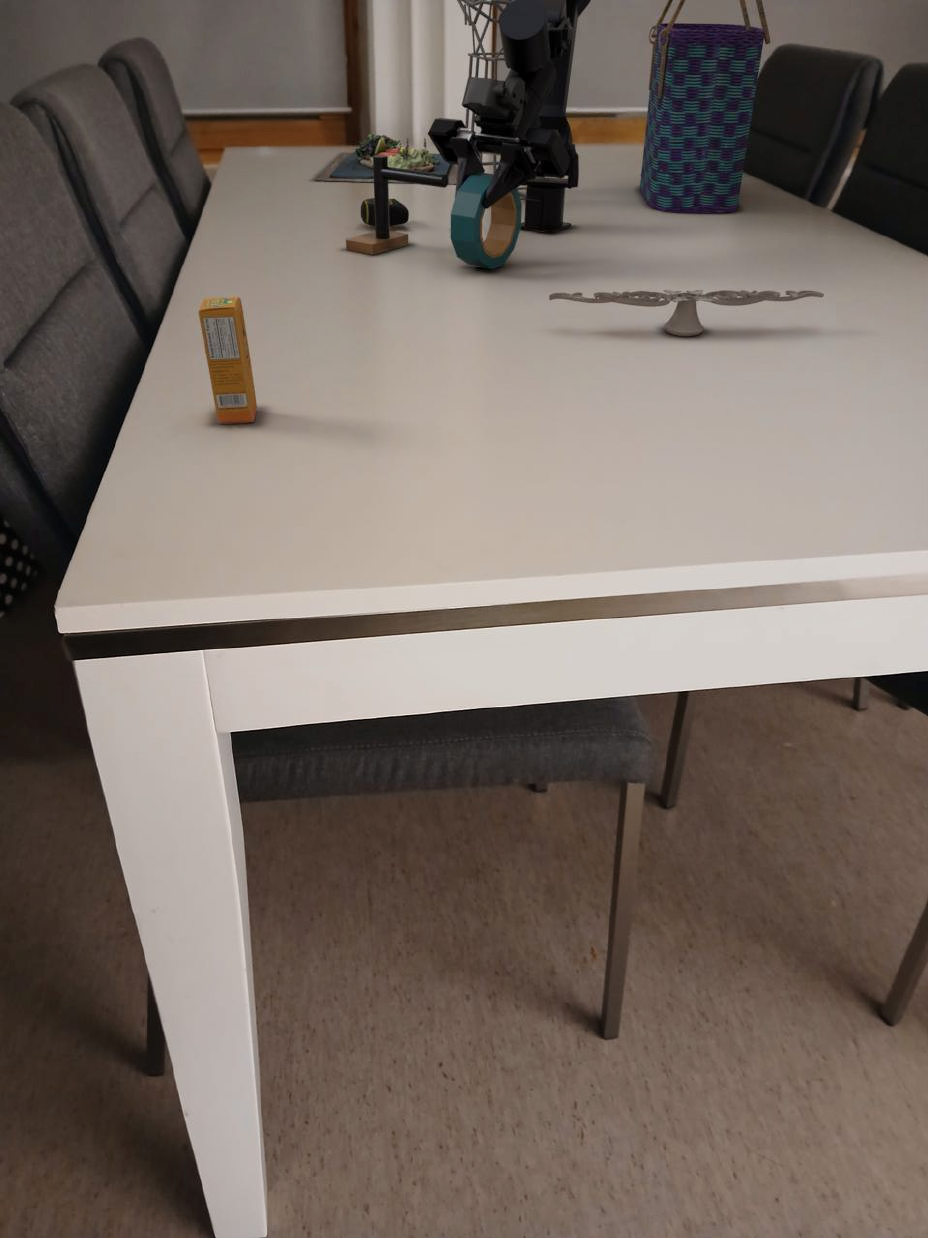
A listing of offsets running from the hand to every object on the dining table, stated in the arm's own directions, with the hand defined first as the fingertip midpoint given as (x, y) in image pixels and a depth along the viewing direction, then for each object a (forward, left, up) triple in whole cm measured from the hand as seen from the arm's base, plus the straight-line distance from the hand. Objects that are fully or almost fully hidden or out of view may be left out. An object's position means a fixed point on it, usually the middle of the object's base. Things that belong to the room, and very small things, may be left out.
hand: (470, 204), depth 122 cm
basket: (-67, 0, -9) cm, 67 cm away
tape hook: (-4, -13, -8) cm, 16 cm away
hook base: (-4, -19, -8) cm, 21 cm away
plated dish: (-60, -60, -9) cm, 85 cm away
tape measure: (-16, -27, -9) cm, 32 cm away
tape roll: (-4, 0, -8) cm, 9 cm away
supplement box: (+53, +12, -9) cm, 55 cm away
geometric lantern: (-46, -25, -9) cm, 53 cm away
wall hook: (+6, +33, -9) cm, 35 cm away
